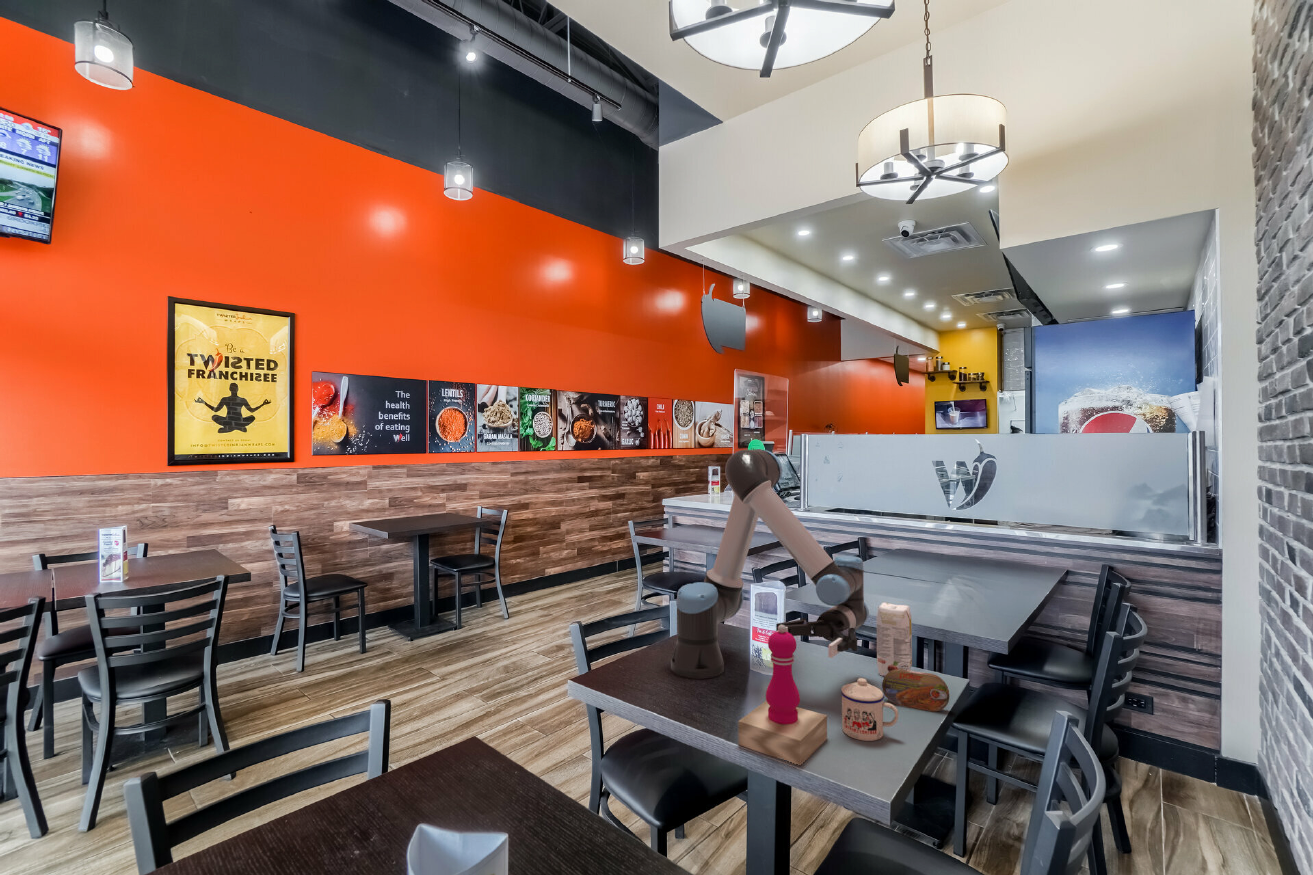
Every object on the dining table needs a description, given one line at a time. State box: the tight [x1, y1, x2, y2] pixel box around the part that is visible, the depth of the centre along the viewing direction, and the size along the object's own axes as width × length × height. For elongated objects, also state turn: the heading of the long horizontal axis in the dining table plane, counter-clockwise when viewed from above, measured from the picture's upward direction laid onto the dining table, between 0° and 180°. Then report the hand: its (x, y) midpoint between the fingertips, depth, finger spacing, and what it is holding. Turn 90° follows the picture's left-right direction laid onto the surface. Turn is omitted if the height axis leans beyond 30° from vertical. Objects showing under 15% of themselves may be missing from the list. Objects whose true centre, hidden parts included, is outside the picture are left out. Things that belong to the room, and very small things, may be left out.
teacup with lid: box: [840, 677, 899, 742], centre depth 132 cm, size 12×9×12 cm
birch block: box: [737, 700, 828, 766], centre depth 128 cm, size 14×14×5 cm
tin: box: [881, 669, 950, 712], centre depth 146 cm, size 15×3×8 cm, turn 62°
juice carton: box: [876, 602, 913, 677], centre depth 166 cm, size 8×9×19 cm
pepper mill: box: [765, 625, 801, 724], centre depth 128 cm, size 7×7×20 cm
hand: (801, 645), depth 137 cm, fingers open, 13 cm apart
